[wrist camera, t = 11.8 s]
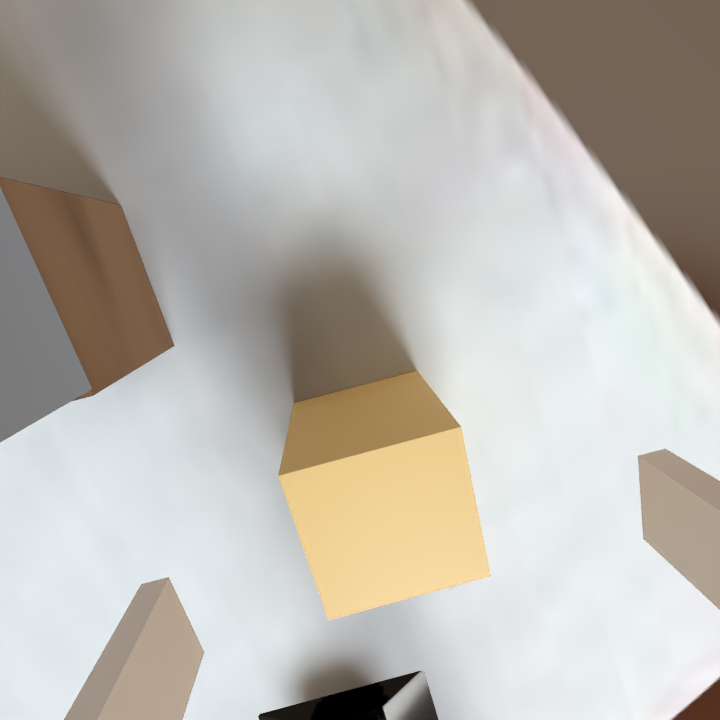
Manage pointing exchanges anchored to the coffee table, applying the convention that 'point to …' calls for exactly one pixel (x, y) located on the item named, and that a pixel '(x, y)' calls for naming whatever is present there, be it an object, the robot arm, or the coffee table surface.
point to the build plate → (368, 703)
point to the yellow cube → (381, 495)
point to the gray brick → (30, 339)
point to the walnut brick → (91, 279)
